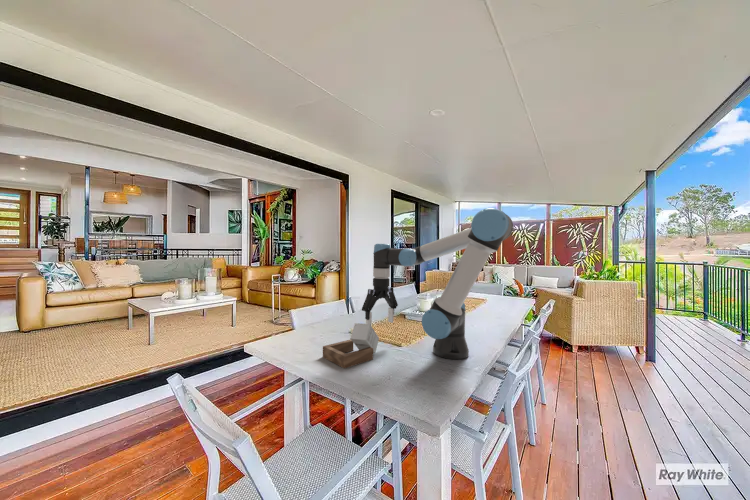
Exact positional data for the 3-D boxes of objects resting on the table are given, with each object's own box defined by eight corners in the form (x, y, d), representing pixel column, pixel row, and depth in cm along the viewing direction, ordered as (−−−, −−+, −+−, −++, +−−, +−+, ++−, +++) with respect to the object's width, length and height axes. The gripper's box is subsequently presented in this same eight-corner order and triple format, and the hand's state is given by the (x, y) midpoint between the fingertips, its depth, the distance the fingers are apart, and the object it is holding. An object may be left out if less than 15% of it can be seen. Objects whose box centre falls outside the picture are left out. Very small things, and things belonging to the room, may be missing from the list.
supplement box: (360, 352, 126) (349, 338, 118) (364, 336, 131) (354, 322, 123) (375, 353, 124) (365, 340, 115) (379, 337, 128) (370, 323, 120)
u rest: (373, 359, 118) (373, 348, 118) (344, 368, 109) (344, 356, 109) (350, 349, 129) (350, 339, 129) (322, 357, 120) (322, 346, 120)
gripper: (394, 275, 143) (393, 318, 143) (354, 278, 126) (353, 326, 126) (405, 277, 137) (404, 321, 137) (365, 279, 120) (364, 330, 120)
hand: (380, 324), depth 132 cm, fingers open, 13 cm apart
